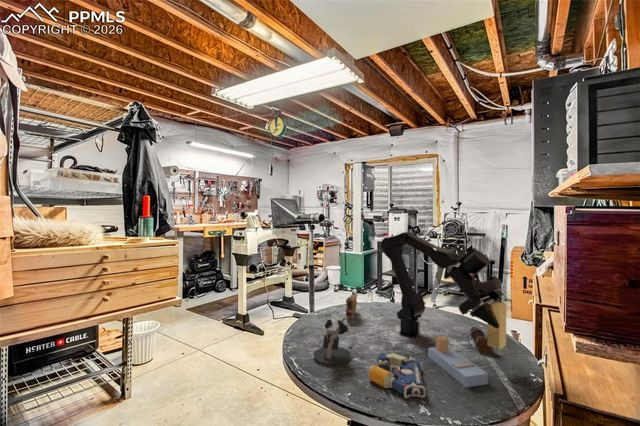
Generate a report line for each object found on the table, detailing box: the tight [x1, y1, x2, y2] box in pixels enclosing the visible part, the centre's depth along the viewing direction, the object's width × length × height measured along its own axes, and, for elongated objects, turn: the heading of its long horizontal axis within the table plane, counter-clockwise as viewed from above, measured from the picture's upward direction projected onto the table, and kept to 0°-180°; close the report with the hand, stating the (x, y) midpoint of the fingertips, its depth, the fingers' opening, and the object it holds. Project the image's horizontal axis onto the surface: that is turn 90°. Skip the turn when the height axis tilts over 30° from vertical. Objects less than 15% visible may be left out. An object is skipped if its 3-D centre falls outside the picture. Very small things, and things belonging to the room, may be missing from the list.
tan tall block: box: [486, 301, 507, 351], centre depth 94 cm, size 4×4×13 cm
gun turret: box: [313, 315, 351, 368], centre depth 104 cm, size 13×20×13 cm, turn 161°
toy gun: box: [368, 352, 427, 399], centre depth 89 cm, size 21×4×15 cm
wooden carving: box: [345, 293, 358, 319], centre depth 139 cm, size 16×5×10 cm, turn 169°
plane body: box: [427, 335, 489, 388], centre depth 93 cm, size 18×7×7 cm, turn 13°
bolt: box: [469, 326, 494, 354], centre depth 111 cm, size 6×5×15 cm
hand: (501, 325), depth 93 cm, fingers closed on tan tall block, 4 cm apart
